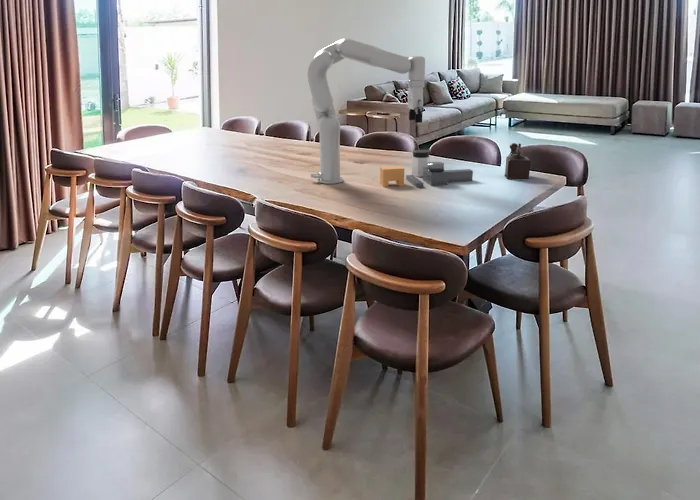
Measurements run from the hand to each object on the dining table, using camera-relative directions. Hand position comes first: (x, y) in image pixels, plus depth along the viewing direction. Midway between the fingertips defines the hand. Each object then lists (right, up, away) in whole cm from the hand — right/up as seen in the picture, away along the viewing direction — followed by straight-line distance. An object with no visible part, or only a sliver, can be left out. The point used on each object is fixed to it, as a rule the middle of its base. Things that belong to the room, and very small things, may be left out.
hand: (415, 121), depth 298 cm
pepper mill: (+50, -26, +7) cm, 57 cm away
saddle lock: (-11, -30, -3) cm, 32 cm away
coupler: (+12, -29, +2) cm, 31 cm away
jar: (+4, -24, +16) cm, 29 cm away
